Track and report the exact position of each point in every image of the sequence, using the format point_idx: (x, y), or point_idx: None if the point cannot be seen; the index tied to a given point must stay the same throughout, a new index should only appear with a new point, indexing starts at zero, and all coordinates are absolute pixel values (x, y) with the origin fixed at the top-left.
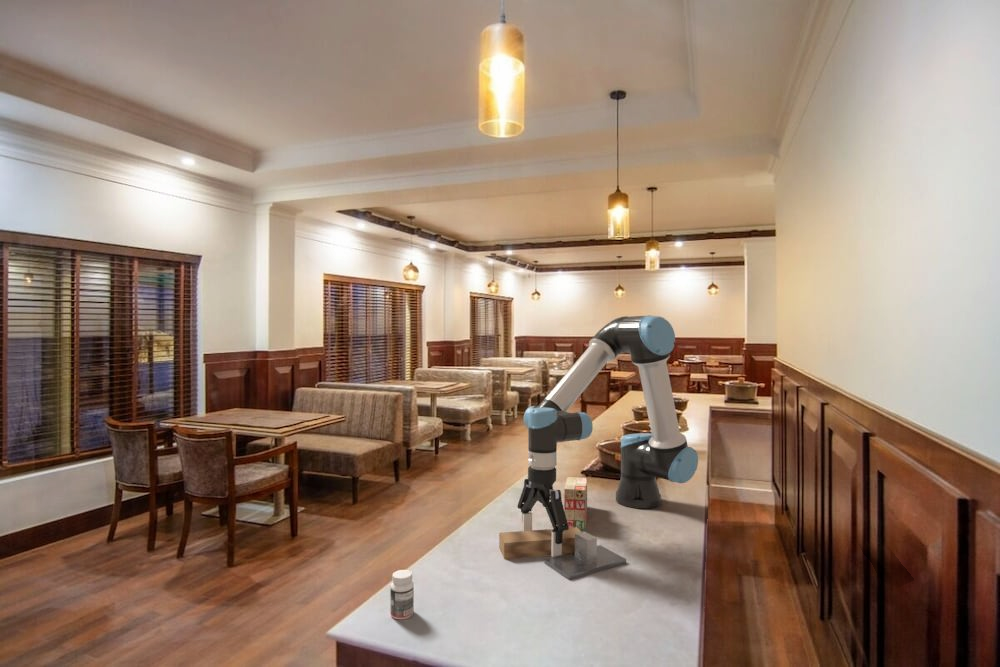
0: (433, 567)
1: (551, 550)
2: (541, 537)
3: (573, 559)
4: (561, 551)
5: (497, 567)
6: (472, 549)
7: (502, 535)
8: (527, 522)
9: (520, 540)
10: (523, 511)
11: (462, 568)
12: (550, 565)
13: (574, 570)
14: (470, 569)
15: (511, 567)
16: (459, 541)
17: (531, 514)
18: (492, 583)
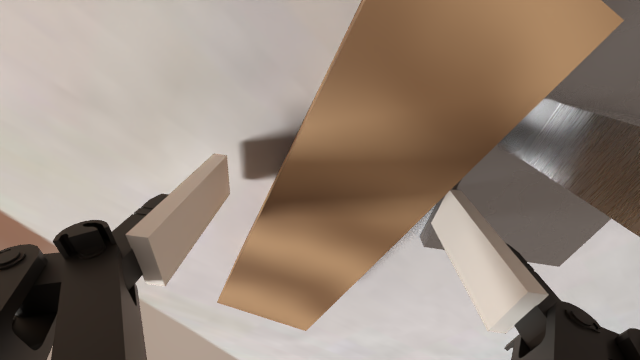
0: (262, 357)
1: (440, 239)
2: (358, 239)
3: (527, 180)
4: (468, 200)
5: (339, 309)
6: (215, 295)
7: (246, 307)
8: (192, 224)
9: (323, 299)
10: (137, 299)
11: (296, 340)
12: None
13: (566, 235)
14: (309, 336)
15: (363, 294)
16: (151, 290)
17: (155, 235)
18: (388, 341)
